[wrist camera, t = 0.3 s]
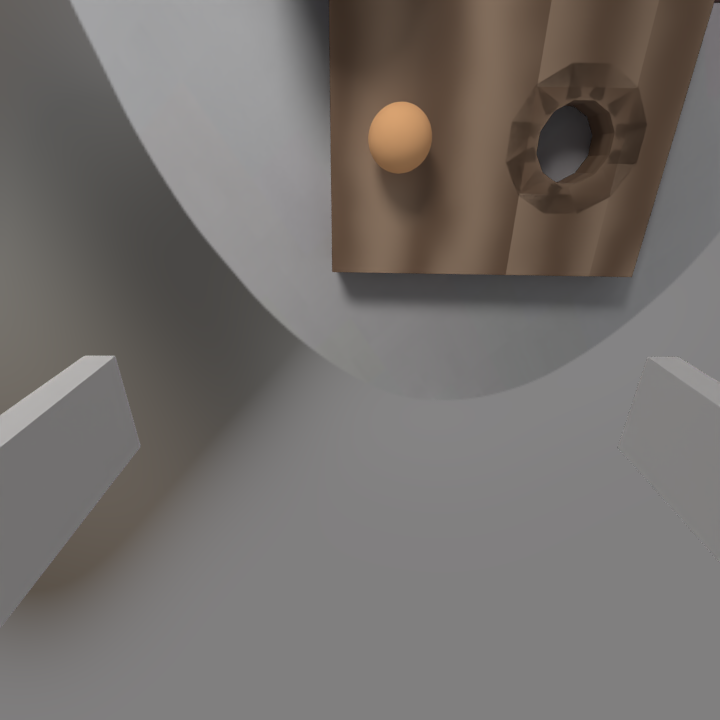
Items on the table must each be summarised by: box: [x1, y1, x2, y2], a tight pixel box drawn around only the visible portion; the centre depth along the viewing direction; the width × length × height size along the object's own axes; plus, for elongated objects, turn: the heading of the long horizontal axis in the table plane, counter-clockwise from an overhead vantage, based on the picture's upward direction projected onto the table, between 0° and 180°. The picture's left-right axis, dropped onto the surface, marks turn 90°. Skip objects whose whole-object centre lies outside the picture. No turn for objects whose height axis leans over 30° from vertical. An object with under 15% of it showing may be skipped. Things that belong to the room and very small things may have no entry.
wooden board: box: [329, 0, 715, 277], centre depth 29 cm, size 23×18×3 cm
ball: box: [368, 102, 432, 174], centre depth 26 cm, size 4×4×4 cm
